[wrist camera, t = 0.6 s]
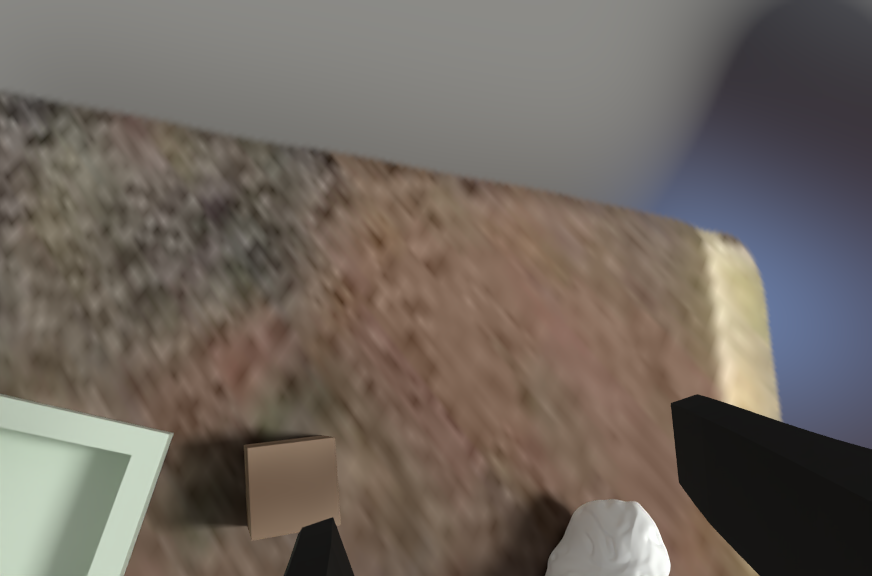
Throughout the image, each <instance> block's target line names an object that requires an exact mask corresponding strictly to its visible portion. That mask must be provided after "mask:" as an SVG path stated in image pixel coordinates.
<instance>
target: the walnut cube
mask: <svg viewBox="0 0 872 576" xmlns="http://www.w3.org/2000/svg"><path fill="white" fill-rule="evenodd" d="M244 458H245V481H246V504H247V526H248V530H249V533H250V537H251V540H252V541H253V540H259V539H264V538H270V537H276V536H281V535H287V534H292V533H298V532H300V530H301V529H302V527H305V526H308V525H311V524H314V523H317V522H320V521H323V520H326V519H329V518H332V517H333V518H334V521H335V524H336V526H337V525H341V519H340V505H339V491H338V476H337V462H336V448H335V437H329V436H322V435H320V436H312V437H304V438H296V439H288V440H280V441H271V442H263V443H255V444H247V445H244Z"/></svg>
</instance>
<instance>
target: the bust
mask: <svg viewBox="0 0 872 576" xmlns="http://www.w3.org/2000/svg"><path fill="white" fill-rule="evenodd" d="M669 572H670V560H669V556H668V553H667V550H666V547H665V545H664V543H663V541H662V538H661V535H660V533H659V530H658V528H657V526H656V524H655V523H654V521H653V520H652V518H651V517H650V516H649V514H648V513H647V512H646V511H645V510H644V509H643V507H642V506H641V505H640V504H639V503H637V502H635V501H629V502H625V501H620V500H616V499H609V500H595V501H591V502H587V503H585V504H583V505H581V506H580V507H578V508H577V509H576V510H575V512H574V513H573V515H572V517H571V520H570V522H569V524H568V526H567V529H566V531H565V534H564V536H563V538H562V540H561V541H560V543H559V544H558V545H557V546H556V548H555V549H554V550H553V551H552V553H551V555H550V556H549V559H548V567H547V571H546V574H545V576H669Z"/></svg>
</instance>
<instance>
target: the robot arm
mask: <svg viewBox="0 0 872 576" xmlns="http://www.w3.org/2000/svg"><path fill="white" fill-rule="evenodd" d="M671 410H672V420H673V429H674V439H675V449H676V458H677V468H678V477H679V483H680V485H681V486H682V487H683V489H684V490H685V492H686V493H687V494H688V496H689V497H690V498H691V500H692V501H693V502H694V504H695V505H696V506H697V508H698V509H699V510H700V512H701V513H702V514H703V515H704V517H705V518H706V519H707V521H708V522H709V523H710V524H711V525H712V526H713V528H714V529H715V530H716V531H717V532H718V533H719V534H720V535H721V536H722V537H723V538H724V539H725V540H726V541H727V542H728V543H729V544H730V545H731V546H732V547H733V549H734V550H735V551H736V552H737V553H738V554H739V555H740V556H741V557H742V558H743V559H744V560H745V561H746V562H747V563H748V564H749V565H750V566H751V567H752V568H753V569H754V570H755V571H756V572H757V573H758V574H759V575H760V576H872V449H868V448H865V447H861V446H858V445H854V444H850V443H847V442H844V441H840V440H836V439H833V438H830V437H826V436H823V435H820V434H817V433H814V432H810V431H807V430H804V429H801V428H798V427H795V426H792V425H789V424H786V423H783V422H780V421H777V420H774V419H771V418H768V417H765V416H762V415H759V414H756V413H753V412H751V411H748V410H745V409H742V408H739V407H736V406H733V405H730V404H727V403H724V402H721V401H718V400H715V399H712V398H708V397H705V396H701V395H698V394H697V395H694V396H691V397H688V398H685V399H682V400H679V401H676V402H673V403H671ZM284 576H354V574H353V571H352V568H351V565H350V562H349V560H348V557H347V554H346V551H345V549H344V546H343V543H342V540H341V538H340V535H339V532H338V529H337V526H336V524H335V521H334V518H333V517H332V518H329V519H326V520H323V521H320V522H317V523H314V524H311V525H308V526H305V527H302V529H301V530H300V532H299V534H298V536H297V539H296V542H295V545H294V548H293V551H292V554H291V557H290V560H289V563H288V566H287V568H286V571H285V574H284Z"/></svg>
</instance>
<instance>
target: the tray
mask: <svg viewBox="0 0 872 576" xmlns="http://www.w3.org/2000/svg"><path fill="white" fill-rule="evenodd" d="M173 434H174V433H171V432H167V431H162V430H158V429H154V428H149V427H145V426H140V425H136V424H132V423H127V422H123V421H118V420H114V419H110V418H105V417H101V416H96V415H92V414H88V413H83V412H79V411H74V410H70V409H66V408H61V407H57V406H52V405H48V404H44V403H39V402H35V401H30V400H26V399H22V398H17V397H13V396H8V395H4V394H0V576H124V574H125V571H126V568H127V565H128V562H129V559H130V557H131V554H132V551H133V548H134V545H135V542H136V539H137V537H138V534H139V531H140V528H141V525H142V522H143V519H144V517H145V514H146V511H147V508H148V505H149V502H150V499H151V497H152V494H153V491H154V488H155V485H156V482H157V480H158V477H159V474H160V471H161V468H162V465H163V462H164V460H165V457H166V454H167V451H168V448H169V445H170V442H171V440H172V437H173Z"/></svg>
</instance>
